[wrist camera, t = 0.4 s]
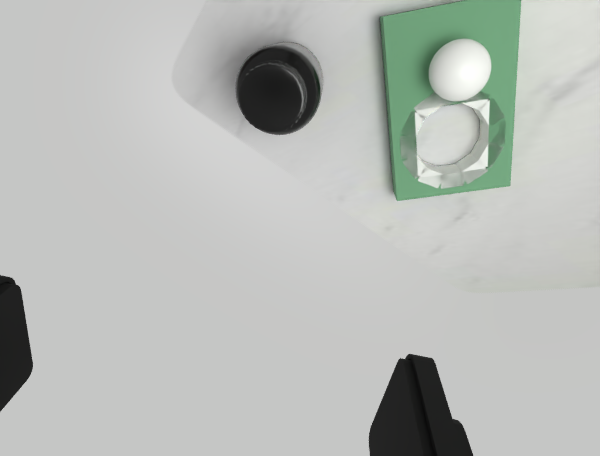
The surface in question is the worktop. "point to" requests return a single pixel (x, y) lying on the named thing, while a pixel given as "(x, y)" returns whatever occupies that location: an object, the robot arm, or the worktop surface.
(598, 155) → the worktop surface
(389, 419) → the robot arm
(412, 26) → the green flat slab
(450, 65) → the ball
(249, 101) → the supplement bottle
